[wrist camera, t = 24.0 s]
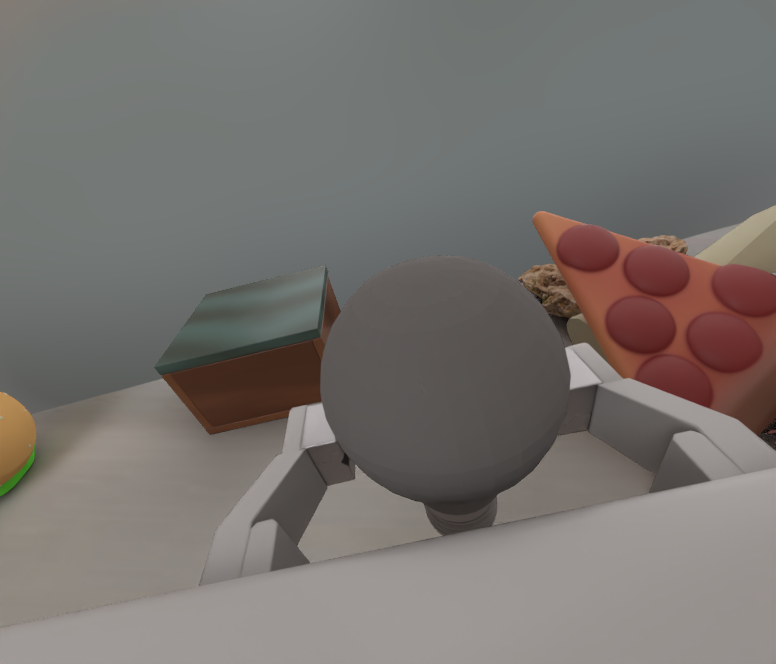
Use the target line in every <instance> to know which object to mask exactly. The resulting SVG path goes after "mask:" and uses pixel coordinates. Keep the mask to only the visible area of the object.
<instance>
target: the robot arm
mask: <svg viewBox="0 0 776 664" xmlns="http://www.w3.org/2000/svg"><path fill="white" fill-rule="evenodd" d="M565 350H566V354H567V359H568V363H569V368H570V373H571V380H570V391H569V400H568V407H567V412H566V414H565V417H564V420H563V422H562V425H561V427H560V430H559V432H558V436H559V435H565V434H570V433H575V432H581V431H586V430H588V432H590V433H591V434H593V435H594V436H596V437H598V438H599V439H601V440H602V441H604V442H605V443H607V444H608V445H610V446H612V447H613V448H615V449H616V450H618V451H619V452H621V453H622V454H624V455H626V456H627V457H629V458H630V459H632V460H633V461H635V462H636V463H638V464H640V465H641V466H643V467H644V468H646V469H647V470H649V471H651V472H652V473H654V474H655V475H656V476H655V479H654V481H653V483H652V486H651V488H650V490H649V493H648V494H645V495H640V496H635V497H630V498H626V499H621V500H616V501H611V502H606V503H601V504H596V505H591V506H587V507H582V508H577V509H572V510H567V511H562V512H557V513H552V514H548V515H543V516H538V517H533V518H528V519H523V520H518V521H513V522H509V523H504V524H499V525H494V526H489V527H484V528H480V529H475V530H470V531H465V532H460V533H455V534H450V535H446V536H441V537H436V538H431V539H426V540H421V541H417V542H412V543H407V544H402V545H397V546H392V547H387V548H383V549H378V550H373V551H368V552H363V553H358V554H353V555H349V556H344V557H339V558H334V559H329V560H324V561H319V562H315V563H310V562H309V561H308V559H307V558H306V557H305V556H304V555H303V553H302V552H301V551H300V550H299V548H298V547H297V545H298V543H299V541H300V539H301V537H302V535H303V533H304V532H305V530H306V528H307V526H308V524H309V522H310V520H311V518H312V516H313V515H314V513H315V511H316V509H317V507H318V505H319V503H320V501H321V499H322V497H323V496H324V494H325V492H326V490H327V486H329V485H333V484H337V483H341V482H346V481H350V480H354V479H355V463H354V462H353V461H352V460H351V459H350V458H349V457H348V456H347V454H346V453H345V452H344V450H343V449H342V448H341V446H340V444H339V442H338V441H337V439H336V437H335V436H334V434H333V432H332V430H331V428H330V426H329V424H328V422H327V420H326V417H325V413H324V409H323V405H322V402H317V403H312V404H308V405H304V406H299V407H294V408H292V409H291V410H290V412H289V416H288V422H287V427H286V432H285V438H284V443H283V448H282V454H279V455H276V456H275V458H274V459H273V460H272V461H271V463H270V464H269V465H268V466H267V467H266V469H265V470H264V471H263V472H262V474H261V475H260V476H259V477H258V478H257V480H256V481H255V482H254V483H253V485H252V486H251V487H250V488H249V489H248V491H247V492H246V493H245V494H244V496H243V497H242V498H241V499H240V501H239V502H238V503H237V504H236V505H235V507H234V508H233V509H232V510H231V512H230V513H229V514H228V515H227V516H226V518H225V519H224V520H223V521H222V523H221V524H220V525H219V526H218V527H217V529H216V531H215V534H214V538H213V541H212V544H211V547H210V551H209V554H208V557H207V560H206V564H205V567H204V570H203V573H202V577H201V580H200V583H199V586H198V587H193V588H188V589H183V590H178V591H174V592H169V593H164V594H159V595H154V596H149V597H144V598H139V599H135V600H130V601H125V602H120V603H115V604H110V605H105V606H100V607H95V608H91V609H86V610H81V611H76V612H71V613H66V614H61V615H56V616H51V617H47V618H42V619H37V620H32V621H27V622H22V623H17V624H12V625H7V626H2V627H0V664H776V451H775V450H774V449H773V448H771V447H770V446H769V445H768V444H767V443H765V442H764V441H763V440H762V439H761V438H759V437H758V436H757V435H756V434H754V433H753V432H752V431H751V430H750V429H748V428H747V427H746V426H745V425H744V424H742V423H741V422H740V421H739V420H738V419H735V418H732V417H730V416H727V415H725V414H722V413H719V412H717V411H714V410H711V409H709V408H706V407H704V406H701V405H698V404H696V403H693V402H691V401H688V400H685V399H683V398H680V397H677V396H675V395H672V394H670V393H667V392H664V391H662V390H659V389H657V388H654V387H651V386H649V385H646V384H643V383H641V382H638V381H636V380H633V379H630V378H626V379H623V378H622V377H621V376H620V375H619V374H618V373H617V372H616V371H615V370H614V369H613V368H612V367H611V366H610V365H609V364H608V363H607V362H606V361H605V360H604V359H603V358H602V357H601V356H600V355H599V354H598V353H597V352H596V351H595V350H594V349H593V348H592V347H591V346H590V345H589V344H587V343H585V342H584V343H580V344H576V345H571V346H567V347H565Z"/></svg>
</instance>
